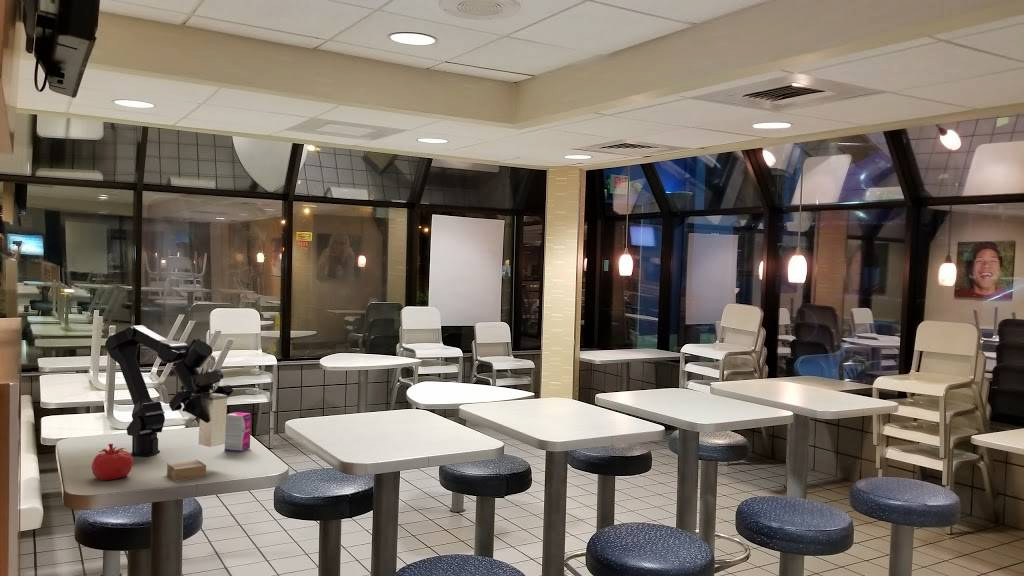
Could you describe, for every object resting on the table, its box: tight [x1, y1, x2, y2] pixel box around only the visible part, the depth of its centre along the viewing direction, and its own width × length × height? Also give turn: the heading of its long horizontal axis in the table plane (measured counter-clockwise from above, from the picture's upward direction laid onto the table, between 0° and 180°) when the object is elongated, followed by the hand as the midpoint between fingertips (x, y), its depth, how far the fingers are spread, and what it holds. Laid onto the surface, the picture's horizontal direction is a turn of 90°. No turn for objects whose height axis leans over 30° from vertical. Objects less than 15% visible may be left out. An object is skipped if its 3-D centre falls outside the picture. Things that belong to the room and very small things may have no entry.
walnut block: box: [166, 459, 207, 482], centre depth 214 cm, size 8×8×4 cm
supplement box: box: [224, 411, 252, 453], centre depth 245 cm, size 6×6×12 cm
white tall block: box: [198, 393, 229, 448], centre depth 223 cm, size 5×5×14 cm
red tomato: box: [91, 443, 134, 481], centre depth 210 cm, size 10×10×9 cm
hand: (215, 420), depth 222 cm, fingers closed on white tall block, 5 cm apart
